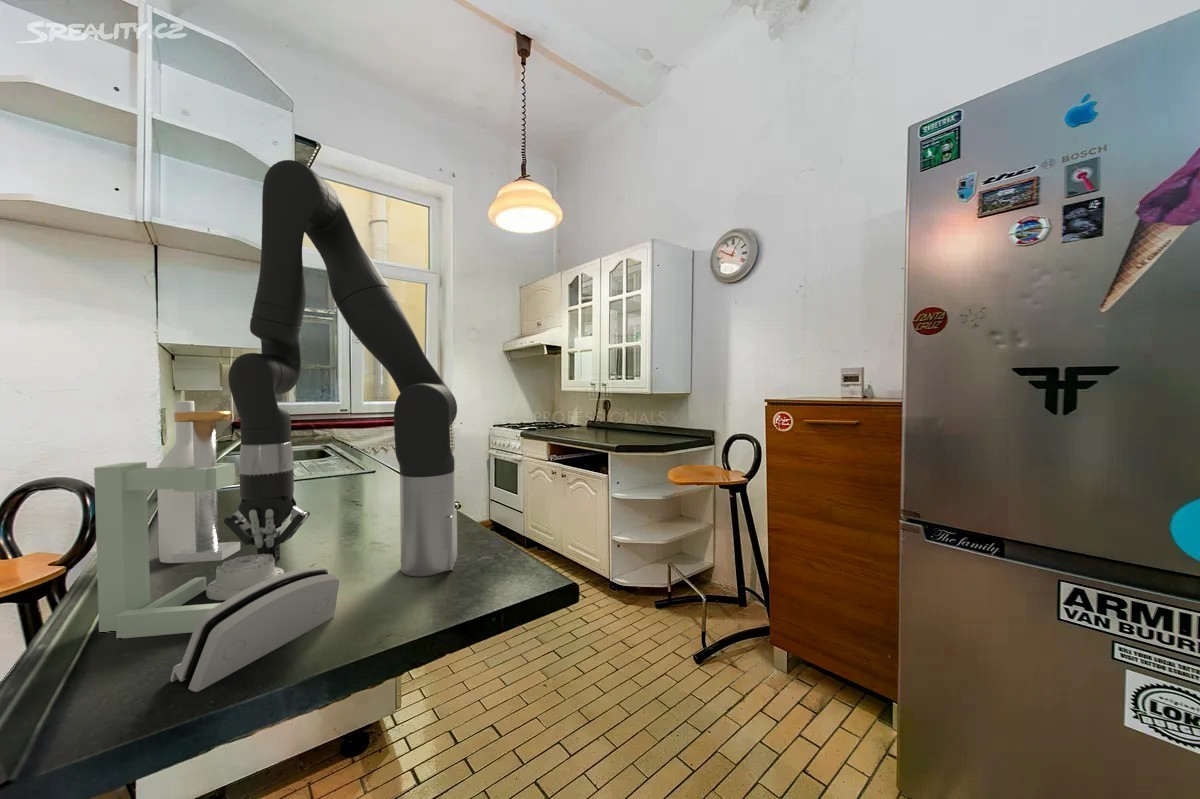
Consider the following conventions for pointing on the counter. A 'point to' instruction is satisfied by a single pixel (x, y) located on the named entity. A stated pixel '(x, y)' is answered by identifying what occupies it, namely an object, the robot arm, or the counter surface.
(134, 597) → the frame
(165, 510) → the bottle
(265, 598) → the grey curved housing
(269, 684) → the counter surface
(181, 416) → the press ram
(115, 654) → the counter surface
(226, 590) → the mechanical component
